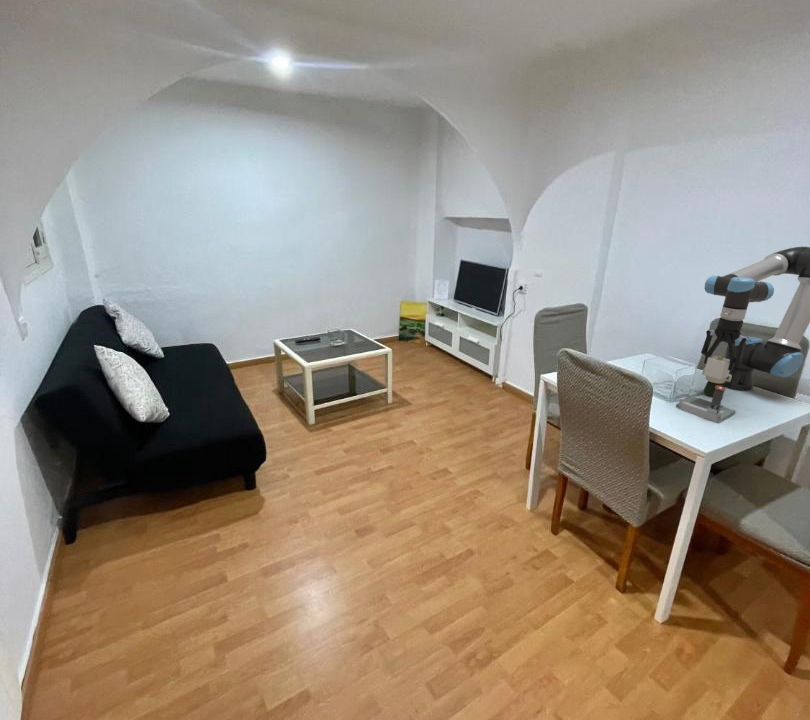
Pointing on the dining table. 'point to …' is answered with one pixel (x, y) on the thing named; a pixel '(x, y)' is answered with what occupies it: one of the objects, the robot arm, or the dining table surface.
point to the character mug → (713, 383)
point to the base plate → (704, 409)
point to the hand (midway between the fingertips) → (715, 374)
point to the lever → (716, 400)
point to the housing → (716, 366)
